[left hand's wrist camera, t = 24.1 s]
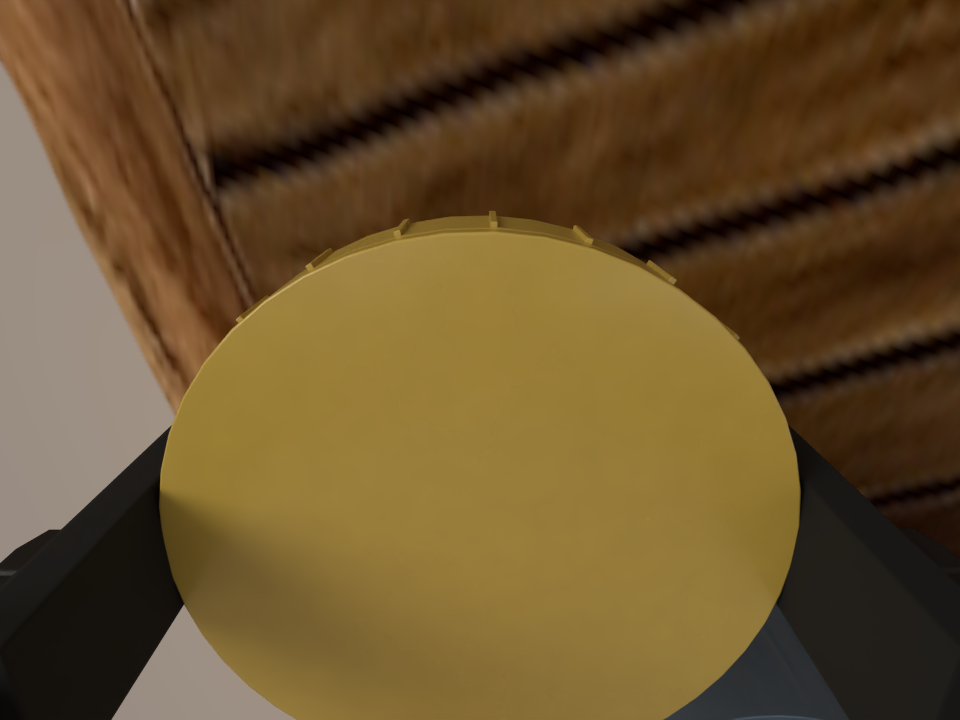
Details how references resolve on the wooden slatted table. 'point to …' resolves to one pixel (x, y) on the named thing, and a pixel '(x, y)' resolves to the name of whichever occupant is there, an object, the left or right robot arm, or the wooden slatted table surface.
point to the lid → (479, 483)
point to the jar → (767, 683)
